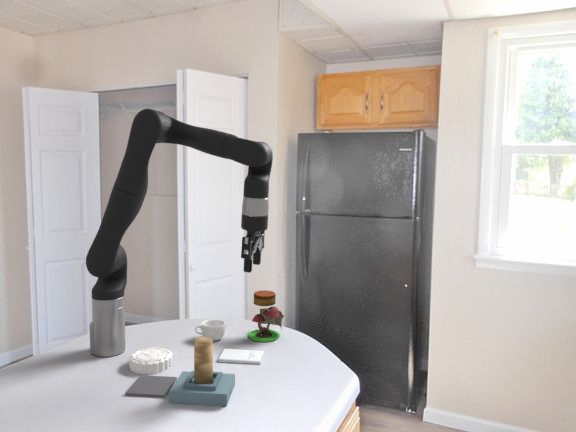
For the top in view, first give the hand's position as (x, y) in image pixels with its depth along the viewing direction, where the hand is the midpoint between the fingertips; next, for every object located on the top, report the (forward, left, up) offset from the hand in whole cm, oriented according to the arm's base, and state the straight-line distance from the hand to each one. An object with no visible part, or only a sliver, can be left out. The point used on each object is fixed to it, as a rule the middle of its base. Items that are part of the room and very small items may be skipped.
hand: (252, 268), depth 135 cm
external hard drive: (-3, +2, -29) cm, 29 cm away
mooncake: (-28, -6, -29) cm, 40 cm away
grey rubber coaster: (-23, -19, -28) cm, 41 cm away
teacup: (-16, +16, -28) cm, 36 cm away
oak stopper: (-9, -21, -25) cm, 34 cm away
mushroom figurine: (+2, +20, -28) cm, 35 cm away
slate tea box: (-9, -21, -28) cm, 36 cm away
